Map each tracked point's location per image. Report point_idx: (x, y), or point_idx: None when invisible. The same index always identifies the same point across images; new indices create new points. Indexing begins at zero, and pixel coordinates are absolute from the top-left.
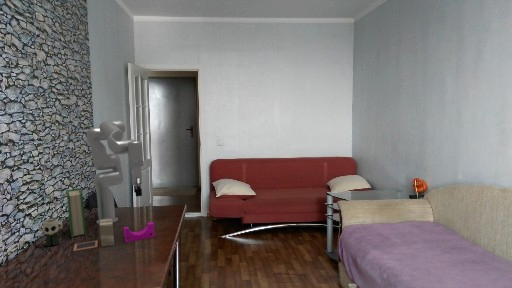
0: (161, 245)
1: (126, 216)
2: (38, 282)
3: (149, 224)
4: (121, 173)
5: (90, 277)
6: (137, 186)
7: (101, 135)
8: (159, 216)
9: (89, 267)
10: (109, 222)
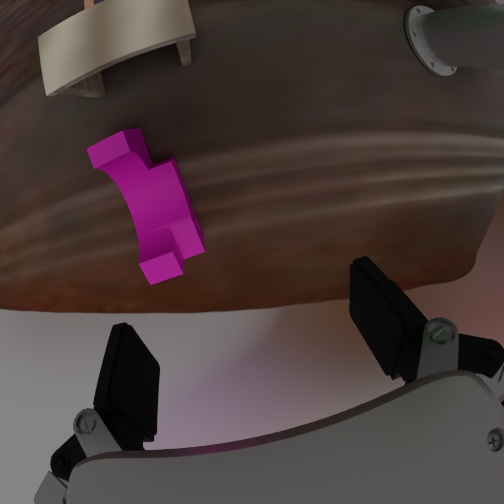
0: (72, 288)
1: (462, 108)
2: None
3: (142, 266)
4: None
5: None
6: (55, 459)
7: None
8: (419, 224)
9: None
10: (75, 62)
